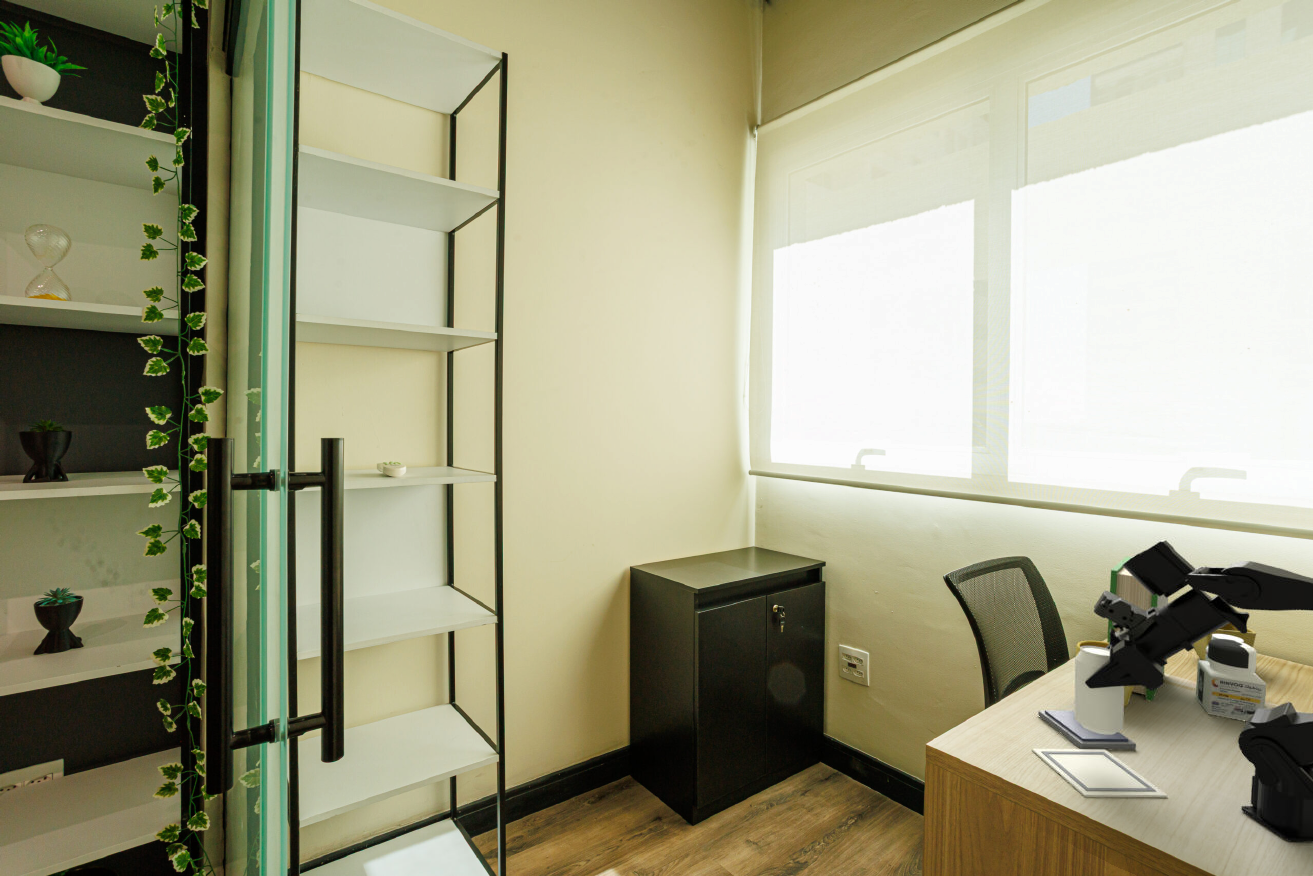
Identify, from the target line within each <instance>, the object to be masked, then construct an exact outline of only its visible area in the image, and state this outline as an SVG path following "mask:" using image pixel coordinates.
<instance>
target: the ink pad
mask: <svg viewBox="0 0 1313 876" xmlns="http://www.w3.org/2000/svg"><path fill="white" fill-rule="evenodd" d="M1038 715H1039V716H1040V717H1041V718H1040V717H1039V716H1038ZM1038 715H1037V716H1038V717H1039V718H1040V719H1042V720H1043V719H1044V720H1045V721H1046V723H1047V724H1048V723H1049V724H1050V726H1051V727H1052V728H1053V727H1054V728H1055V730H1056V729H1057V730H1058V731H1059V732H1058V731H1057V730H1056V731H1057V732H1058V733H1060V732H1061V733H1062V734H1063V735H1062V734H1061V733H1060V734H1061V735H1062V736H1064V737H1065V736H1066V737H1065V738H1066V739H1068V740H1069V741H1070V742H1071V743H1072V744H1073V745H1075V746H1076V747H1078V749H1105V750H1106V749H1116V750H1118V749H1132V750H1131V751H1135V750H1134V749H1137V744H1136V743H1135V742H1134V741H1133V740H1131V739H1130V738H1128V737H1127V736H1126V735H1124V734H1122V733H1120V732H1116V733H1115V734H1112V735H1106V734H1100V733H1096V732H1092V731H1090V730H1087V729H1086V728H1084V727H1083V726H1082V725H1081V724H1080V723H1078V722H1077V721H1076V720H1075V716H1074V710H1059V709H1057V710H1055V709H1053V710H1051V709H1050V710H1049V709H1047V710H1046V709H1045V710H1038ZM1044 720H1043V721H1044ZM1045 721H1044V722H1045ZM1049 724H1048V725H1049ZM1116 750H1115V751H1116ZM1118 751H1119V750H1118Z"/></svg>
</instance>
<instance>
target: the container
mask: <svg viewBox="0 0 1313 876" xmlns="http://www.w3.org/2000/svg"><path fill="white" fill-rule="evenodd" d="M1257 653H1258V652H1257V650H1256V649H1255V648H1254V646H1253V647H1251V646H1249V645H1247V644H1245V643H1242V642H1238V641H1234V640H1229V639H1213V640H1210V641H1209V643H1208V660H1207V661H1203V660H1202V659H1201V660H1200V659H1199V660H1198V661H1197V672H1196V686H1195V687H1196V688H1195V689H1196V691H1195V698H1196V700H1197V701H1198V702H1199V704H1200V705H1201V706H1202V708H1203V709H1204V710H1205V712H1206V713H1207V714H1208V713H1209V714H1212V715H1211V716H1214V715H1218V716H1217V717H1219V716H1223V717H1222V718H1224V717H1227V718H1226V719H1230V718H1233V719H1232V720H1235V719H1239V720H1238V721H1240V720H1245V721H1248V719H1249V718H1250V717H1252V716H1253V715H1254V713H1255V711H1256V710H1257V708H1262V709H1266V694H1267V693H1266V692H1267V683H1266V682H1265V681H1264V680H1263V679H1262V678H1261V677H1259V675H1258V674H1257V673H1255V672H1256V668H1257ZM1209 714H1208V715H1209ZM1245 721H1244V722H1245Z"/></svg>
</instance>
